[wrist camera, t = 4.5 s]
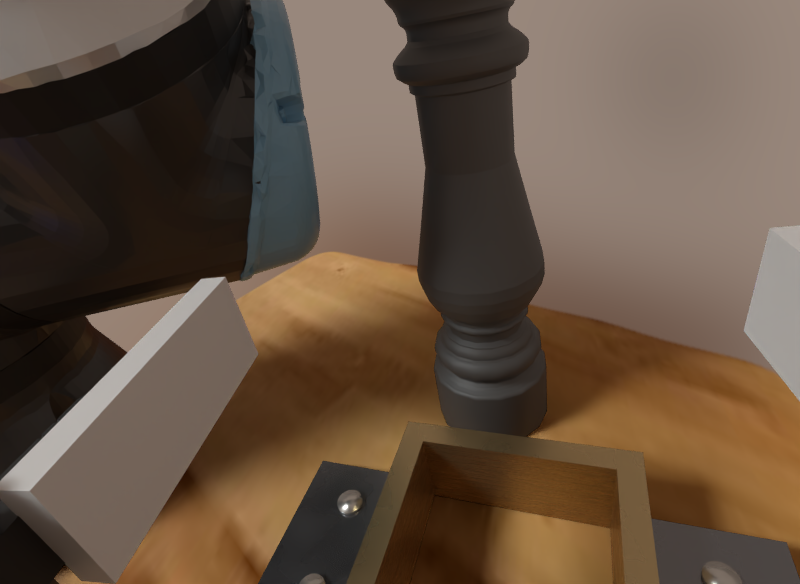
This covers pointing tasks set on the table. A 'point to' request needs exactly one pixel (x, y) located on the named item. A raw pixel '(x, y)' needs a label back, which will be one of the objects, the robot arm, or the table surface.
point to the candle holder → (475, 213)
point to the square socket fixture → (508, 488)
